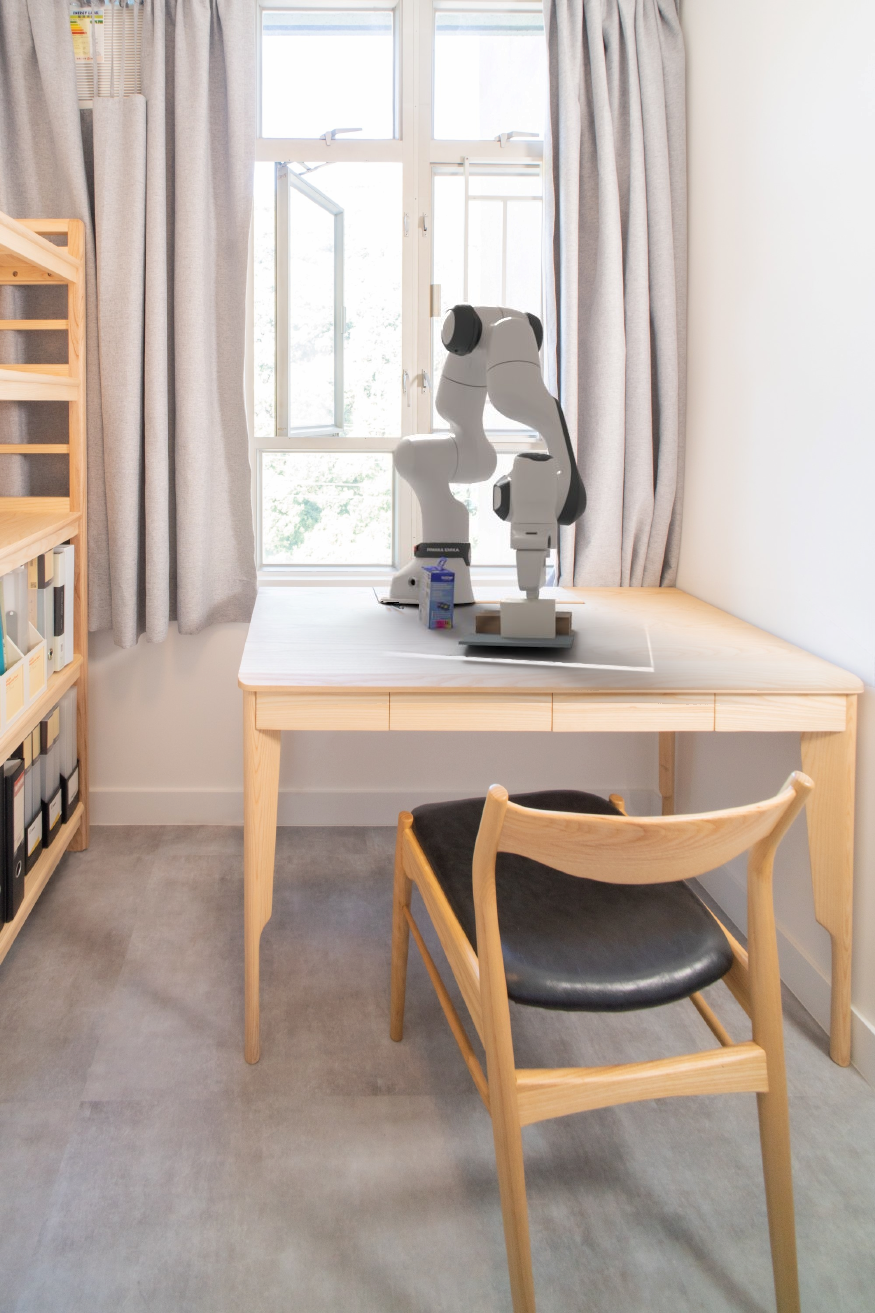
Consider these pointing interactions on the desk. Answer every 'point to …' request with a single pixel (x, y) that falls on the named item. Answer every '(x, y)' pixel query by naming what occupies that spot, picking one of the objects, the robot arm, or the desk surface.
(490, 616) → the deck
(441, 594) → the ink cartridge box
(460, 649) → the desk surface
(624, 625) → the desk surface
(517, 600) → the white flat block
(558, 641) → the mat
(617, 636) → the desk surface
